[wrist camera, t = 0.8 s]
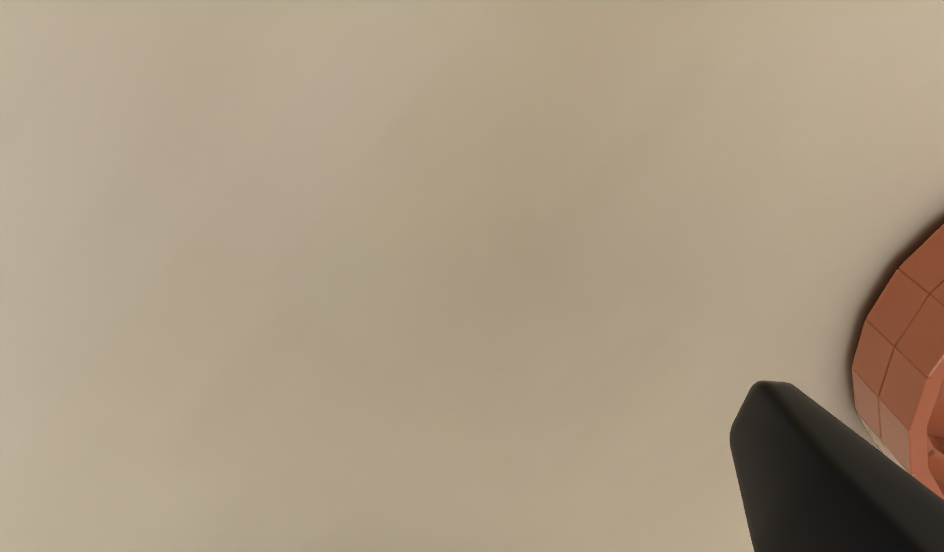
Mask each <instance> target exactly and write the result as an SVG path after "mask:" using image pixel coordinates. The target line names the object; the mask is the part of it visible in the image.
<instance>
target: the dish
mask: <svg viewBox="0 0 944 552" xmlns="http://www.w3.org/2000/svg"><path fill="white" fill-rule="evenodd" d="M852 378H853V388H854V399H855V409H856V412H857V414H858V416H859V417H860V419H861V421H862V422H863V424H864V426H865V427H866V429H867V431H868V432H869V434H870V436H871V437H872V439H873V441H874V442H875V444H876V445H877V446H878V447H879V448H880V450H881V451H882V452H883V453H884V454H885V456H887V457H888V458H889V459H891V460H892V461H893V462H895V463H896V464H897V465H899V466H900V467H901V468H903V469H904V470H905V471H906V472H908V473H909V474H910V475H912V476H913V477H914V478H916V479H917V480H918V481H920V482H921V483H922V484H923V485H925V486H926V487H927V488H929V489H930V490H931V491H933V492H934V493H935V494H937V495H938V496H939V497H941V498H942V499H943V500H944V224H943V225H942V226H941V227H940V228H939V229H938V230H937V231H935V232H934V233H933V234H932V235H931V236H930V237H929V238H928V239H927V240H926V241H925V242H924V243H923V244H922V245H921V246H920V247H919V248H918V249H917V250H916V251H915V252H914V253H913V254H912V255H911V256H910V257H909V258H908V259H907V260H905V261H904V262H903V263H902V264H901V265H900V266H899V269H897V270H896V271H895V273H894V274H893V276H892V277H891V279H890V281H889V282H888V284H887V285H886V287H885V289H884V290H883V292H882V293H881V295H880V296H879V298H878V300H877V301H876V303H875V304H874V306H873V307H872V309H871V311H870V312H869V314H868V315H867V317H866V320H865V321H864V325H863V328H862V332H861V336H860V339H859V343H858V346H857V350H856V353H855V357H854V360H853V364H852Z"/></svg>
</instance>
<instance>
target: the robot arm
mask: <svg viewBox="0 0 944 552" xmlns="http://www.w3.org/2000/svg"><path fill="white" fill-rule="evenodd" d="M730 447H731V451H732V456H733V460H734V465H735V469H736V474H737V478H738V483H739V487H740V491H741V496H742V500H743V505H744V509H745V514H746V518H747V523H748V527H749V531H750V536H751V540H752V544H753V548H754V552H944V500H943V499H942V498H941V497H939V496H938V495H937V494H935V493H934V492H933V491H931V490H930V489H929V488H927V487H926V486H925V485H923V484H922V483H921V482H920V481H918V480H917V479H916V478H914V477H913V476H912V475H910V474H909V473H908V472H906V471H905V470H904V469H903V468H901V467H900V466H899V465H897V464H896V463H895V462H893V461H892V460H891V459H889V458H888V457H887V456H885V455H884V454H883V453H882V452H880V451H879V450H878V449H876V448H875V447H874V446H872V445H871V444H870V443H868V442H867V441H866V440H865V439H863V438H862V437H861V436H859V435H858V434H857V433H855V432H854V431H853V430H851V429H850V428H849V427H847V426H846V425H845V424H844V423H842V422H841V421H840V420H838V419H837V418H836V417H834V416H833V415H832V414H830V413H829V412H828V411H827V410H825V409H824V408H823V407H821V406H820V405H819V404H817V403H816V402H815V401H813V400H812V399H811V398H809V397H808V396H807V395H806V394H804V393H803V392H802V391H800V390H799V389H798V388H796V387H795V386H794V385H792V384H790V383H786V382H775V381H759V382H756V383H755V384H754V385H753V386H752V387H751V389H750V390H749V392H748V394H747V396H746V398H745V400H744V402H743V404H742V406H741V408H740V410H739V412H738V414H737V416H736V418H735V420H734V422H733V424H732V427H731V431H730Z"/></svg>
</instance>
